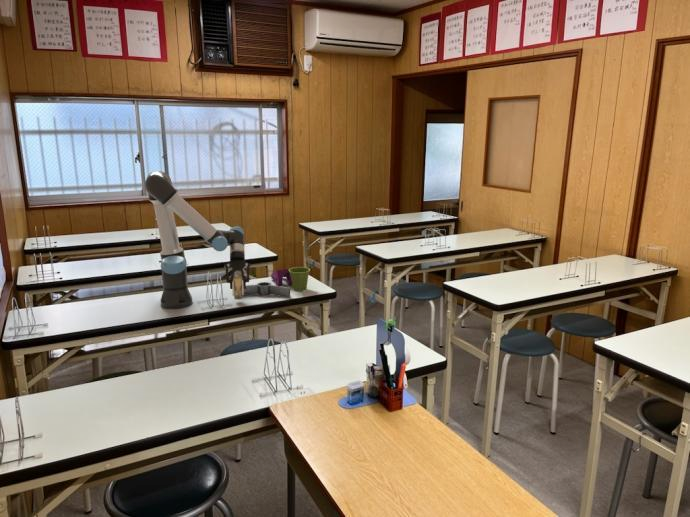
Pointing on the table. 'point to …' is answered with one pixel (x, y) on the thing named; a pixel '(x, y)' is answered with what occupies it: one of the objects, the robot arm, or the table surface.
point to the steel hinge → (267, 289)
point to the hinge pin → (237, 286)
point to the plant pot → (299, 278)
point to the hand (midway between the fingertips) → (238, 294)
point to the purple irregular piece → (279, 275)
